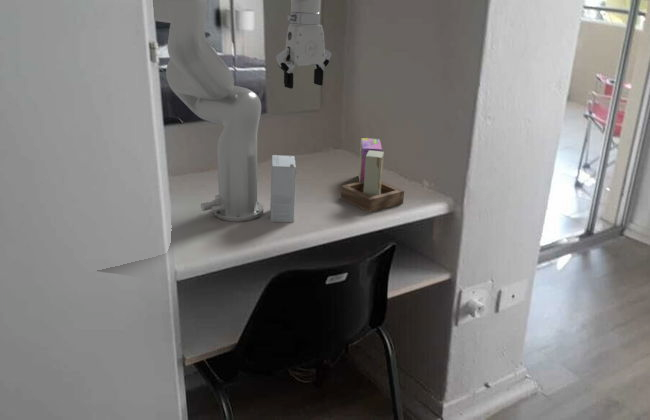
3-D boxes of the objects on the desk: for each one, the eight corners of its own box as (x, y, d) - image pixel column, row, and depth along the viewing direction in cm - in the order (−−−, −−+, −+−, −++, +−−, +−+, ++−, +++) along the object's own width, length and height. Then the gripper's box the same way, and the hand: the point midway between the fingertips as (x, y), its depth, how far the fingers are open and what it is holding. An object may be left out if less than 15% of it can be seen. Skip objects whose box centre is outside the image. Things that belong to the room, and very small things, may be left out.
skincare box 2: (378, 202, 159) (382, 157, 155) (362, 200, 160) (365, 156, 155) (381, 193, 165) (384, 151, 160) (365, 191, 166) (368, 149, 161)
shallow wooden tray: (369, 212, 155) (370, 199, 154) (340, 197, 164) (341, 185, 162) (403, 203, 162) (404, 191, 161) (373, 189, 171) (374, 178, 169)
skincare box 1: (270, 209, 154) (270, 154, 148) (293, 209, 155) (294, 154, 149) (270, 223, 146) (270, 165, 141) (295, 223, 147) (296, 165, 141)
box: (379, 188, 172) (382, 148, 167) (359, 187, 172) (361, 147, 167) (377, 176, 181) (380, 138, 177) (358, 175, 181) (360, 137, 177)
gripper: (285, 21, 147) (284, 91, 153) (340, 20, 157) (337, 85, 163) (269, 18, 152) (268, 86, 159) (323, 17, 162) (321, 81, 169)
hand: (303, 86), depth 161 cm, fingers open, 9 cm apart
